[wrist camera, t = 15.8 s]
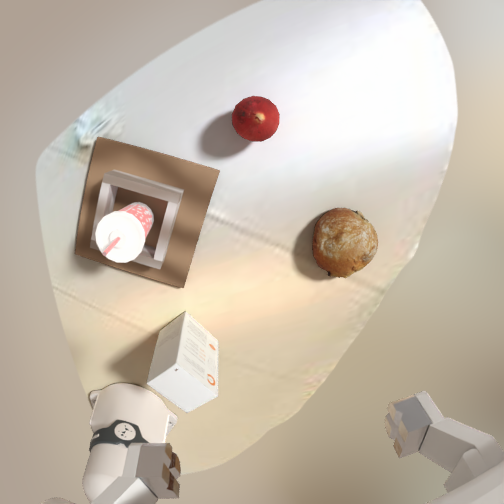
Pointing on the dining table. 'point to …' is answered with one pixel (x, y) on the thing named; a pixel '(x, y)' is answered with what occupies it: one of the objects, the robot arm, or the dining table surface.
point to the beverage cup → (124, 232)
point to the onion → (255, 118)
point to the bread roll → (343, 242)
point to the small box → (185, 364)
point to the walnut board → (156, 198)
